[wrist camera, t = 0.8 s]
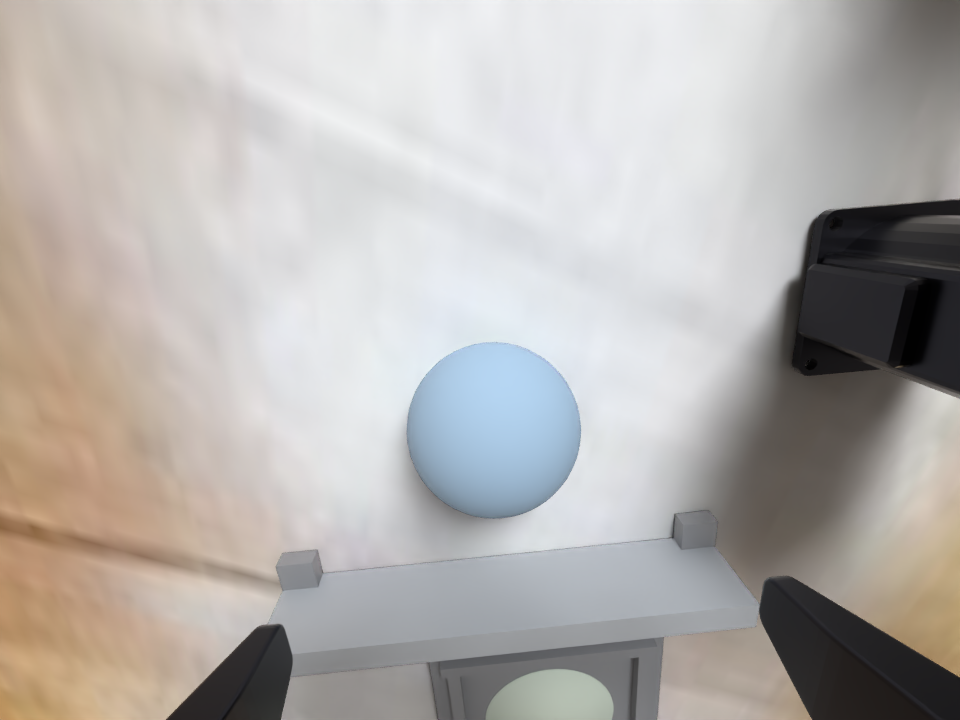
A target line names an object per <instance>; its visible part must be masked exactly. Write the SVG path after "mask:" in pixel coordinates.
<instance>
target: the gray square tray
mask: <svg viewBox="0 0 960 720" xmlns="http://www.w3.org/2000/svg"><path fill="white" fill-rule="evenodd" d="M663 640H664V637H659V638H649V639H640V640H631V641H622V642H612V643H603V644H594V645H585V646H575V647H566V648H557V649H547V650H538V651H529V652H520V653H510V654H501V655H492V656H483V657H473V658H464V659H455V660H445V661H436V662H429V665H430V671H431V677H432V683H433V690H434V696H435V702H436V709H437V715H438V720H657V715H658V702H659V690H660V677H661V665H662V652H663Z"/></svg>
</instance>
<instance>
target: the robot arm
mask: <svg viewBox="0 0 960 720" xmlns="http://www.w3.org/2000/svg"><path fill="white" fill-rule="evenodd" d="M832 219H834V225H833V227H832V228H831V229H830V225H829V224H830V222H831V220H832ZM809 359H810V362H809V364H808V365H807V366H805V364H806V362H807V361H808V360H809ZM792 367H793V369H794V370H795V371H797V372H799V373H801V374H803V375H807V376H812V375H823V374H833V373H844V372H855V371H866V370H876V369H882V370H885V371H888V372H890V373H893V374H896V375H898V376H901V377H903V378H906V379H909V380H911V381H914V382H917V383H919V384H922V385H925V386H927V387H930V388H933V389H935V390H938V391H941V392H943V393H946V394H949V395H951V396H954V397H957V398H959V399H960V199H949V200H937V201H925V202H913V203H901V204H889V205H877V206H865V207H854V208H842V209H830V210H826V211H824V212H823V213H821V214H820V215H819V217H818V218H817V219H816V222H815V226H814V232H813V238H812V244H811V250H810V256H809V262H808V268H807V275H806V281H805V287H804V293H803V299H802V305H801V311H800V317H799V323H798V330H797V336H796V342H795V348H794V354H793V360H792ZM759 613H760V619H761V621H762V624H763V626H764V628H765V630H766V632H767V634H768V636H769V638H770V640H771V642H772V644H773V646H774V647H775V649H776V651H777V653H778V655H779V657H780V659H781V661H782V663H783V665H784V667H785V669H786V671H787V673H788V675H789V677H790V679H791V681H792V682H793V684H794V686H795V688H796V690H797V692H798V694H799V696H800V698H801V700H802V702H803V704H804V705H805V707H806V709H807V711H808V713H809V715H810V717H811V718H812V720H960V677H958V676H956V675H955V674H953V673H951V672H950V671H948V670H946V669H945V668H943V667H941V666H940V665H938V664H936V663H935V662H933V661H931V660H930V659H928V658H926V657H925V656H923V655H921V654H920V653H918V652H916V651H915V650H913V649H911V648H910V647H908V646H906V645H905V644H903V643H901V642H900V641H898V640H896V639H895V638H893V637H891V636H890V635H888V634H886V633H885V632H883V631H881V630H880V629H878V628H876V627H875V626H873V625H871V624H870V623H868V622H866V621H865V620H863V619H861V618H860V617H858V616H856V615H855V614H853V613H851V612H850V611H848V610H846V609H845V608H843V607H841V606H840V605H838V604H836V603H835V602H833V601H831V600H830V599H828V598H826V597H825V596H823V595H821V594H820V593H818V592H816V591H815V590H813V589H811V588H810V587H808V586H806V585H805V584H803V583H801V582H800V581H798V580H796V579H794V578H792V577H790V576H777V577H769V578H767V579H766V580H765V581H764V585H763V591H762V596H761V602H760V607H759ZM292 666H293V655H292V651H291V648H290V644H289V641H288V638H287V634H286V631H285V628H284V626H283V625H282V624H279V623H277V624H267V625H261V626H259V627H257V628H256V629H255V630H254V631H253V632H252V633H251V634H250V635H249V636H248V637H247V638H246V639H245V640H244V641H243V642H242V643H241V644H240V645H239V646H238V647H237V648H236V649H235V650H234V651H233V652H232V653H231V654H230V655H229V656H228V657H227V658H226V659H225V660H224V661H223V662H222V663H221V664H220V665H219V666H218V667H217V668H216V669H215V670H214V671H213V672H212V673H211V674H210V675H209V676H208V677H207V678H206V679H205V680H204V681H203V682H202V683H201V684H200V685H199V686H198V687H197V688H196V690H195V691H194V692H193V693H192V694H191V695H190V696H189V697H188V698H187V699H186V700H185V701H184V702H183V703H182V704H181V705H180V706H179V707H178V708H177V709H176V710H175V711H174V712H173V713H172V714H171V715H170V716H169V717H168V718H167V719H166V720H281V716H282V712H283V707H284V703H285V698H286V694H287V689H288V685H289V681H290V676H291V672H292Z"/></svg>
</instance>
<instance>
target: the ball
mask: <svg viewBox="0 0 960 720" xmlns="http://www.w3.org/2000/svg"><path fill="white" fill-rule="evenodd" d="M580 437H581V425H580V416H579V411H578V407H577V403H576V401H575V398H574V396H573V393H572V391H571V389H570V388H569V386H568V384H567V382H566V381H565V379H564V378H563V377H562V376H561V374H560V373H559V372H558V371H557V370H556V369H555V368H554V367H553V366H552V365H551V364H550V363H549V362H548V361H546V360H545V359H544V358H542V357H541V356H539V355H537V354H535V353H533V352H532V351H530V350H528V349H525V348H522V347H520V346H516V345H512V344H508V343H498V342H492V343H480V344H474V345H471V346H467V347H464V348H462V349H459V350H457V351H455V352H453V353H451V354H450V355H448V356H446V357H445V358H443V359H442V360H441V361H439V362H438V363H437V364H436V365H435V366H434V367H433V368H432V369H431V370H430V371H429V372H428V373H427V374H426V376H425V377H424V378H423V380H422V381H421V383H420V384H419V386H418V388H417V390H416V392H415V394H414V397H413V399H412V402H411V405H410V409H409V413H408V421H407V441H408V446H409V451H410V455H411V459H412V461H413V464H414V466H415V468H416V470H417V472H418V474H419V476H420V477H421V479H422V481H423V482H424V483H425V484H426V486H427V487H428V488H429V489H430V490H431V491H432V492H433V493H434V494H435V495H436V496H437V497H438V498H439V499H440V500H442V501H443V502H444V503H445V504H447V505H449V506H451V507H452V508H454V509H456V510H459V511H461V512H463V513H465V514H469V515H472V516H476V517H481V518H493V519H494V518H507V517H513V516H516V515H520V514H523V513H526V512H528V511H531V510H532V509H534V508H536V507H538V506H540V505H541V504H543V503H544V502H546V501H547V500H548V499H549V498H550V497H551V496H553V495H554V494H555V493H556V492H557V491H558V489H559V488H560V487H561V486H562V485H563V483H564V482H565V481H566V479H567V478H568V476H569V474H570V472H571V470H572V468H573V466H574V464H575V461H576V458H577V455H578V451H579V446H580Z"/></svg>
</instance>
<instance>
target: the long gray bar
mask: <svg viewBox="0 0 960 720" xmlns="http://www.w3.org/2000/svg"><path fill="white" fill-rule="evenodd" d="M717 527H718V521H717V520H716V519H715V517H714V516H713V515H712V514H711V513H710V511H709V510H707V511H697V512H688V513H678V514H675V523H674V535H673V538H666V539H657V540H647V541H637V542H627V543H617V544H608V545H598V546H588V547H578V548H568V549H559V550H549V551H539V552H529V553H519V554H510V555H500V556H490V557H480V558H470V559H461V560H451V561H441V562H431V563H421V564H412V565H402V566H392V567H382V568H372V569H363V570H353V571H343V572H333V573H323V571H322V567H321V563H320V559H319V555H318V551H317V550H310V551H300V552H290V553H282V555H281V557H280V559H279V561H278V563H277V565H276V570H277V573H278V576H279V580H280V583H281V587H282V590H283V591H282V593H281V596H280V598H279V600H278V602H277V605H276V607H275V609H274V611H273V613H272V616H271V618H270V620H269V622H268V624H277V623H279V624H282V625H283V626H284V628H285V631H286V634H287V638H288V641H289V644H290V648H291V651H292V655H293V666H292V672H291V676H290V677H297V676H306V675H316V674H325V673H334V672H343V671H353V670H362V669H371V668H381V667H390V666H399V665H408V664H418V663H427V662H436V661H445V660H455V659H464V658H473V657H483V656H492V655H501V654H510V653H520V652H529V651H538V650H547V649H557V648H566V647H575V646H585V645H594V644H603V643H612V642H622V641H631V640H640V639H649V638H659V637H668V636H677V635H687V634H696V633H705V632H714V631H724V630H733V629H742V628H751V627H756V624H757V618H758V612H759V607H760V604H759V603H758V601H757V600H756V599H755V598H754V596H753V595H752V594H751V592H750V591H749V590H748V588H747V587H746V586H745V585H744V583H743V582H742V581H741V579H740V578H739V577H738V575H737V574H736V573H735V572H734V570H733V569H732V568H731V566H730V565H729V564H728V563H727V561H726V560H725V559H724V557H723V556H722V555H721V553H720V552H719V551H718V550H717V548H716V547H715V543H716V535H717Z"/></svg>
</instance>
